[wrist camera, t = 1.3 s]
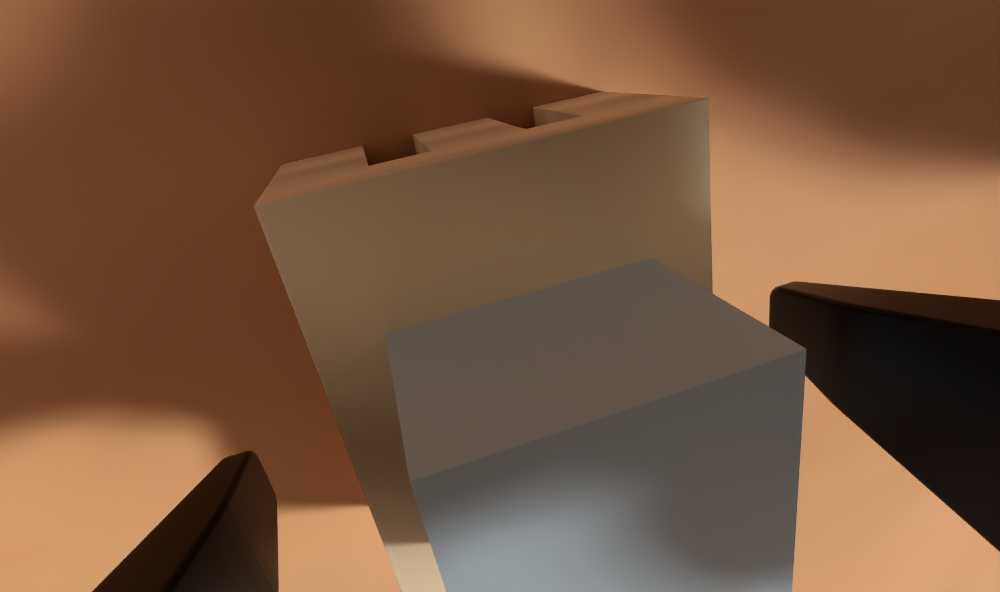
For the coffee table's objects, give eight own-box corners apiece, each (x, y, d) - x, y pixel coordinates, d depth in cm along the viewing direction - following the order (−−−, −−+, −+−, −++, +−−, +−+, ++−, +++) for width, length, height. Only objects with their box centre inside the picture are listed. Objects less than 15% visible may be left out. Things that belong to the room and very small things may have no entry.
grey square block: (385, 333, 7) (409, 481, 5) (650, 257, 8) (807, 348, 5) (450, 541, 9) (495, 739, 6) (666, 464, 10) (790, 613, 7)
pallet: (282, 162, 9) (253, 206, 6) (598, 91, 10) (708, 98, 7) (401, 500, 13) (419, 638, 10) (632, 421, 14) (717, 523, 11)
